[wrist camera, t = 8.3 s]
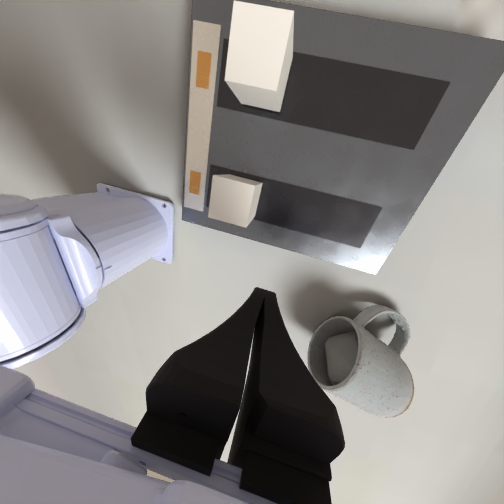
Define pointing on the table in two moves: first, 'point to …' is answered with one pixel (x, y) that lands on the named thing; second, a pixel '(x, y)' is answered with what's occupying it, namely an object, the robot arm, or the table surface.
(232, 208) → the switch tab
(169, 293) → the table surface
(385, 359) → the ceramic mug
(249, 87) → the switch tab
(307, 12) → the switch panel
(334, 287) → the table surface
